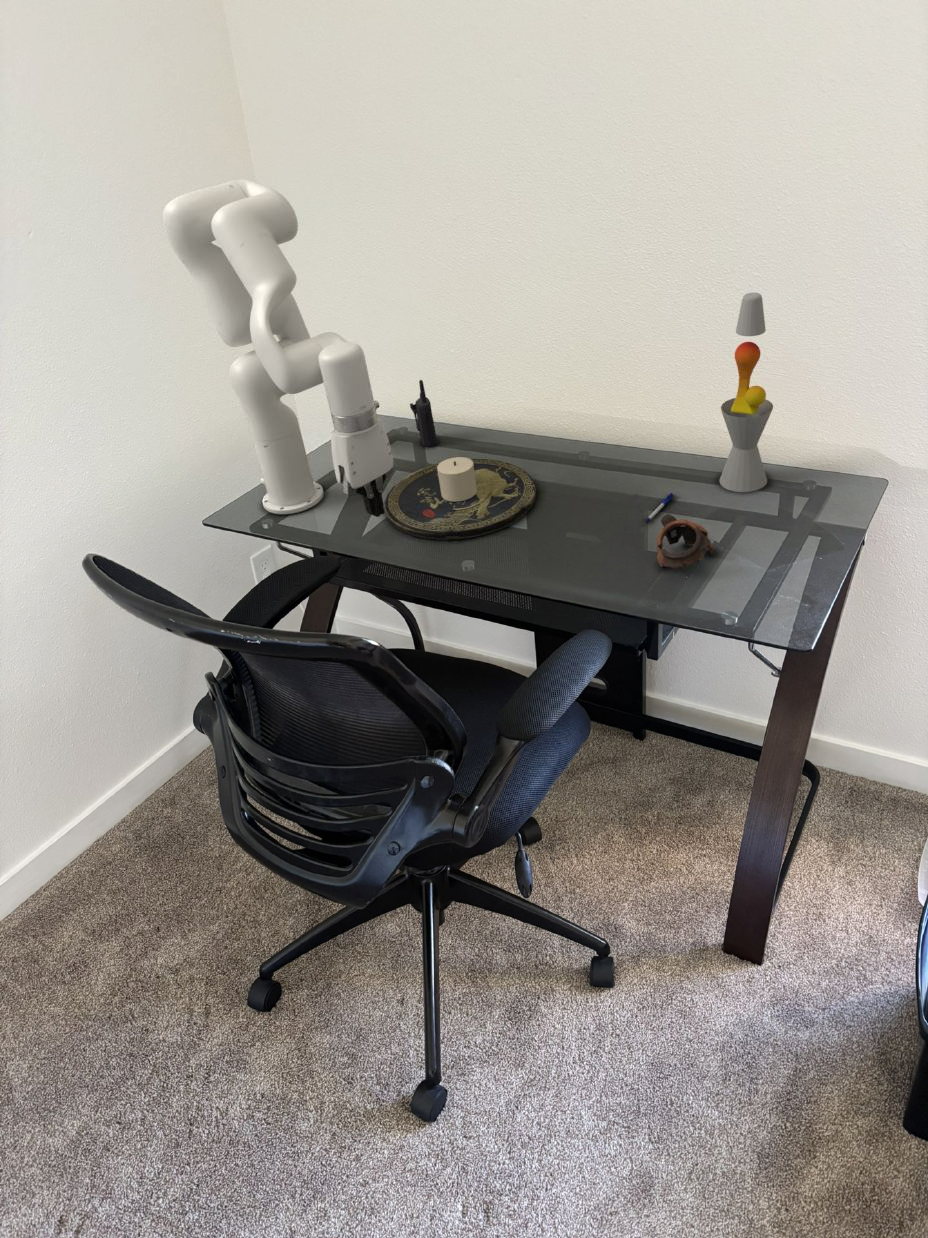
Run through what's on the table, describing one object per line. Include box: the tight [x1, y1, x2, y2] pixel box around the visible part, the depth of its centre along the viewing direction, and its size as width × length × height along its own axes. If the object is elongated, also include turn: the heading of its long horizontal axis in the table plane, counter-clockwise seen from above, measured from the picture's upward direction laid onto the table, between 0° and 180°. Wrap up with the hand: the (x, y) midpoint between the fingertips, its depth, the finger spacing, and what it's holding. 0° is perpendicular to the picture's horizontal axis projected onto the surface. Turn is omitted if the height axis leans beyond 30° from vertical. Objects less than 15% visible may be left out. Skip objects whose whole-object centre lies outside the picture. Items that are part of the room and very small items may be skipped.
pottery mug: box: [656, 513, 714, 569], centre depth 158 cm, size 12×10×8 cm
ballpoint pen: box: [645, 492, 674, 523], centre depth 172 cm, size 10×1×1 cm, turn 146°
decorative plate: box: [384, 458, 537, 541], centre depth 185 cm, size 30×2×30 cm
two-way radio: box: [409, 379, 438, 447], centre depth 204 cm, size 6×4×15 cm
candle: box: [437, 456, 477, 502], centre depth 182 cm, size 7×7×7 cm
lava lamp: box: [719, 292, 774, 493], centre depth 167 cm, size 9×9×35 cm
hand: (376, 513), depth 169 cm, fingers closed
